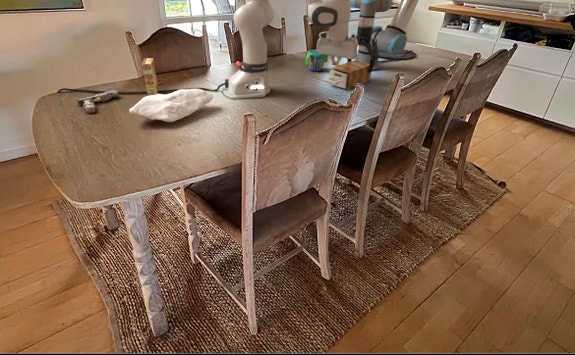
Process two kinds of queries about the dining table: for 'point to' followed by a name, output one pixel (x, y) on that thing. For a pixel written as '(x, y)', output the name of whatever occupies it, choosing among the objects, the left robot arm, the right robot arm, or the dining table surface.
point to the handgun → (95, 100)
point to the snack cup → (315, 60)
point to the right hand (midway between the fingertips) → (359, 68)
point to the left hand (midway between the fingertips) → (335, 65)
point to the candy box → (150, 76)
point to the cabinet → (355, 72)
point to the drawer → (338, 78)
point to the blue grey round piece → (399, 55)
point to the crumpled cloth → (171, 104)
